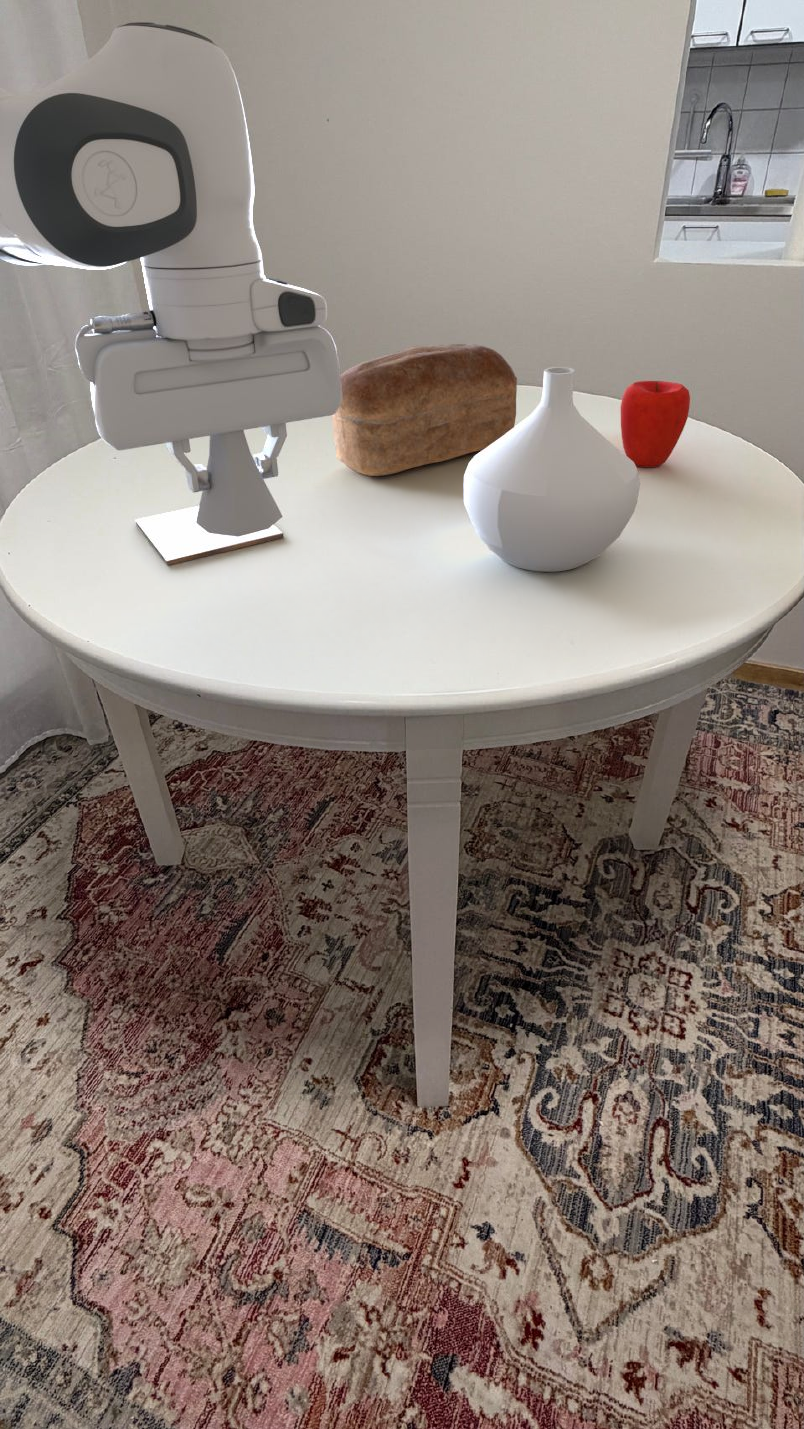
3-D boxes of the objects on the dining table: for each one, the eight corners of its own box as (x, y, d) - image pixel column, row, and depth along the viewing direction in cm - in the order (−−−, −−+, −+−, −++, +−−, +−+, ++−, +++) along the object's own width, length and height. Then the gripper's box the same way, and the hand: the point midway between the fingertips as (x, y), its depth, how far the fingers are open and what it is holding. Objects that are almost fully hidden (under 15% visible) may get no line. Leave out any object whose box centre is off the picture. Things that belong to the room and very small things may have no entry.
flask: (238, 545, 67) (220, 424, 61) (181, 527, 71) (159, 410, 65) (297, 518, 72) (285, 403, 66) (241, 502, 75) (225, 391, 69)
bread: (322, 465, 115) (313, 358, 106) (476, 428, 127) (478, 329, 118) (366, 488, 106) (360, 375, 98) (526, 446, 119) (532, 342, 110)
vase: (662, 574, 84) (696, 382, 72) (501, 603, 79) (511, 405, 68) (579, 511, 98) (597, 343, 87) (438, 534, 94) (438, 360, 82)
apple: (673, 452, 114) (687, 372, 108) (684, 473, 107) (700, 389, 101) (610, 452, 115) (620, 373, 109) (617, 473, 108) (628, 390, 102)
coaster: (167, 565, 89) (166, 560, 89) (136, 524, 99) (135, 519, 99) (284, 537, 94) (283, 533, 94) (243, 501, 104) (242, 496, 104)
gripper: (77, 326, 55) (122, 518, 63) (345, 298, 63) (354, 472, 71) (60, 313, 59) (104, 494, 67) (312, 288, 67) (324, 453, 75)
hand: (234, 482), depth 69 cm, fingers closed on flask, 5 cm apart
